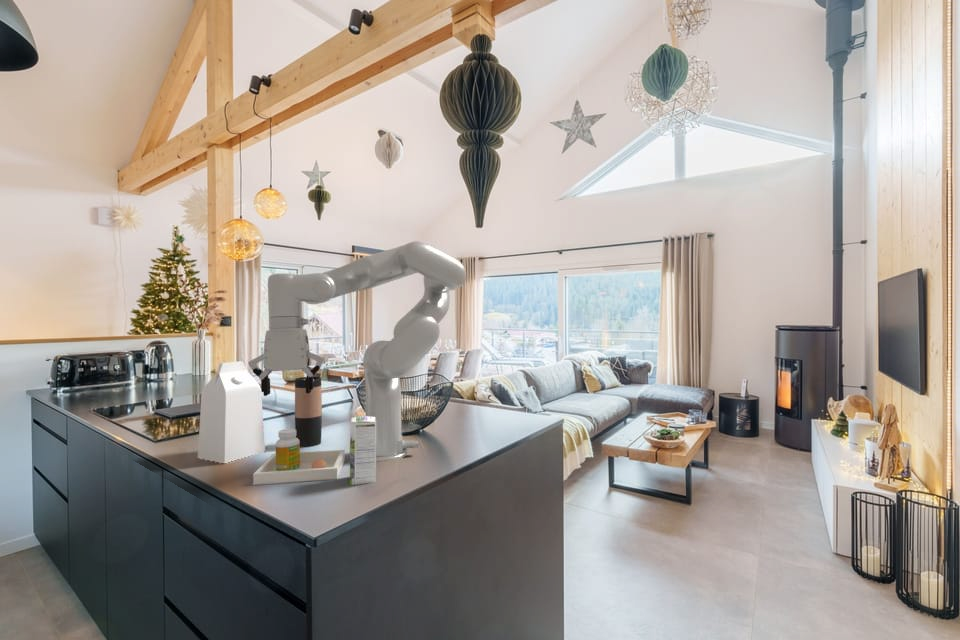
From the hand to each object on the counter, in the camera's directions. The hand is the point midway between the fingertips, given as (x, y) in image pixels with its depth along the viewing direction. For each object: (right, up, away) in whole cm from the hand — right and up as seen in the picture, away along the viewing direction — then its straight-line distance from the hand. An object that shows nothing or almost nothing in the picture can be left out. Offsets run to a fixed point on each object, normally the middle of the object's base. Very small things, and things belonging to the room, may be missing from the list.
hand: (288, 393), depth 107 cm
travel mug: (-5, -20, +25) cm, 32 cm away
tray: (+4, -19, -1) cm, 20 cm away
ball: (+8, -19, -2) cm, 21 cm away
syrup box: (+20, -19, -7) cm, 29 cm away
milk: (-22, -20, +15) cm, 33 cm away
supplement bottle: (0, -19, 0) cm, 19 cm away
